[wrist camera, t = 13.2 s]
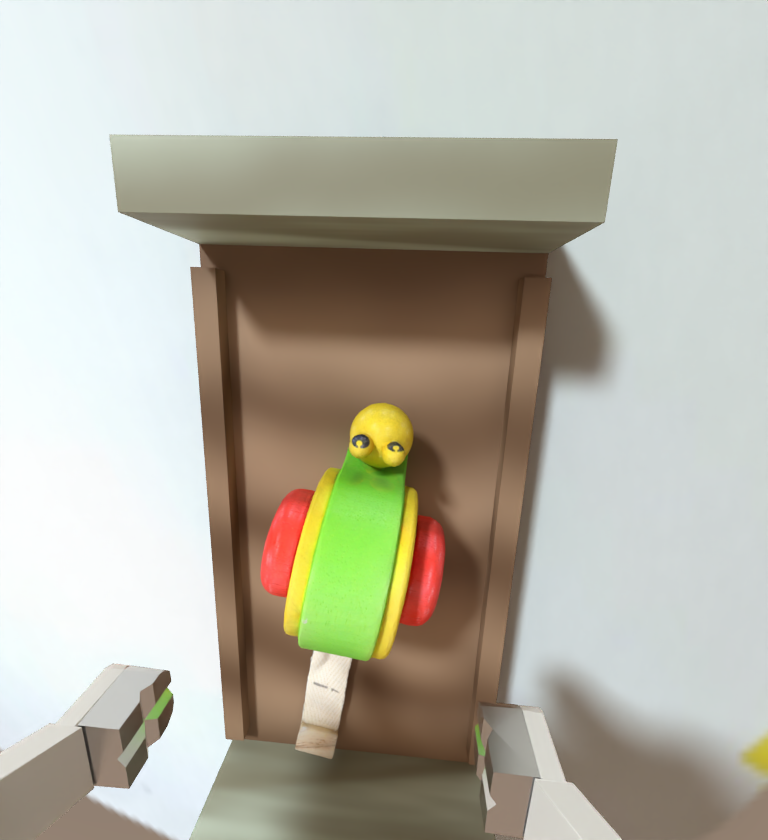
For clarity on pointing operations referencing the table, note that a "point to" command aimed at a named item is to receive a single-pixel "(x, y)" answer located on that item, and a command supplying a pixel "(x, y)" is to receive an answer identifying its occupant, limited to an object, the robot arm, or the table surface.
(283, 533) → the toy measuring tape
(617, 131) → the table surface
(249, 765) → the wooden tray
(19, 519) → the table surface
